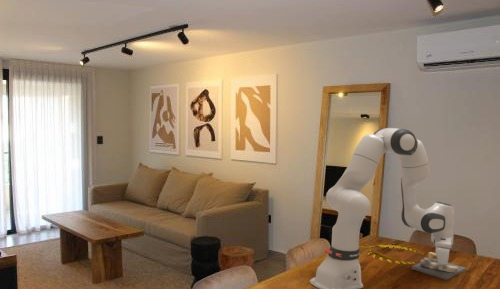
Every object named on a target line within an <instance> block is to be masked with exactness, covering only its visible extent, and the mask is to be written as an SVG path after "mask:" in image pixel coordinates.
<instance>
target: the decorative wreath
mask: <svg viewBox="0 0 500 289" xmlns="http://www.w3.org/2000/svg"><path fill="white" fill-rule="evenodd" d="M392 244H393V245H392ZM395 244H396V243H395V242H393V243H390V244H387V242H384V243H383V244H380V243H379V244H378V245H371V246H370V245H368V244H366V243H364V245H365V246H362V248H363V249H365V248H369V250H368V251H367V256H369V255H370V254H372V256H371V258H373V259H376V257H379V261H381V262H383V261H384V259H385V260H387V262H388V263H389V264H392V263H393V261H394V262H395V263H396V264H399V265H400V264H404V265H407V264H409V265H416V264H417V262H415V261H410V260H408V261H406V260H402V259H397V258H393V257H390V256H387V255H385V254H384V253H382V252H378V251H375V250H371V248H375V247H380V248H386V247H389V248H388V249H400V248H401V249H400V250H403V249H404V250H406V251H408V250H409V251H413V252H414V253H416V252H417V254H420V255H421V254H422V255H423V256H424V255H425V254H426V253H425V252H424V251H421V249H417V248H416V247H412V245H411V246H410V245H409V246H408V245H407V246H404V244H398V245H395ZM393 247H394V248H393ZM411 247H412V248H411Z"/></svg>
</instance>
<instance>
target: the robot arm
mask: <svg viewBox="0 0 500 289" xmlns="http://www.w3.org/2000/svg"><path fill="white" fill-rule="evenodd" d="M385 153H386V154H387V153H388V154H390V155H398V156H399V160H400V164H401V170H402V173H401V174H402V176H401V178H400V186H401V188H400V191H401V202H402V209H401V221H402V222H403V224H404V225H405V226H406V227H409V228H410V229H411V228H412V229H416V230H418V231H420V232H424V233H426V234H431V236H430V241H431V243H433V246H434V247H435V253H436V256H437V257H436V256H435V257H436V259H437V262H438V269H439V270H443V265H444V266H447V263H449V259H450V258H449V256H450V251H451V250H450V249H452V246H453V245H454V234H455V233H454V226H455V209H454V206H453V205H451V204H449V203H446V202H442V201H435V202H434V203H433V205H432V206H430V207H428V208H422V207H420V206H419V204H418V202H417V201H418V200H417V187H418V185H421V184H424V183H425V182H427V181H428V179H429V178H430V176H431V169H430V163H429V158H428V154H427V150H426V148H425V146H424V144H423V142H422V141H421V140H419V139H417V137H416V135H415V134H414V133H413V132H412V131H411V130H409V129H406V128H398V127H397V128H396V127H383V128H379V129H377V130H376V131H374V132H373V133H368V134H365V135H363V136H362V137H361V139H360V141H359V142H358V144H357V146H356V148H355V149H354V151H353V154H352V156H351V158H350V160H349V163H348V165H347V167H346V168H345V170H344V172H343V173H342V176H341V177H340V178H339V179H338V180H337V182H336V183H335V185H333V186H332V187H331V188H329V189H328V191H327V192H326V193H325V194H326V195H325V200H326V203H327V204H328V205H329V206H330V208H331V209H332V210H334V211H336V212H337V214H338V216H337V219H336V222H335V224H334V225H333V226H332V229H331V232H332V233H331V245H330V247H329V248H324V253H325V254H327V257H326V258H325V259H324V260H323V261H322V262H321V264H320V265H319V266H318V267H317V268H316V274H315V276H314V277H312V278H310V280H309V283H310V284H311V285H312V286H313V287H314V288H315V287H316V288H317V289H362V288H364V283H362V271H361V268H362V267H361V264H360V260H359V258H360V254H361V252H360V245H359V244H360V231H361V227H362V225H363V221H364V219H365V217H366V216H367V215H369V213H370V211H371V201H370V200H369V198H368V197H367V196H365V194H363V193H362V192H361V191H362V190H363V188H364V187H365V186H366V185H368V184H370V182H371V181H372V180H373V178H374V176H375V173H376V171H377V168H378V167H379V164H380V162H381V158H382V156H383V155H384V154H385Z"/></svg>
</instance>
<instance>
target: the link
mask: <svg viewBox="0 0 500 289" xmlns="http://www.w3.org/2000/svg"><path fill="white" fill-rule="evenodd" d="M419 263H420V266H422V267H424V268H431V269H436V270H439V269H438V263H435V262H431V261H429V260H428V261H424V258H423V259H420V262H419ZM442 271H447V272H452V273H458V267H456V266H451V265H447V266H444V265H443V270H442Z"/></svg>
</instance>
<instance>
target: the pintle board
mask: <svg viewBox="0 0 500 289" xmlns="http://www.w3.org/2000/svg"><path fill="white" fill-rule="evenodd" d="M427 255H428V256H427V257H424V258H423V259H424V261H428V260H429V261H431V262H435V263H438V262H437V256H436V252H432V251H429V252H428V253H427ZM434 257H436V258H434ZM420 263H421V262H419V263H416V264H413V265H412V266H411V268H410V269H411V270H414V271H417V272H421V273H424V274H426V275H429V276H433V277H436V278H440V279H442V280H444V281H447V280H449V279H451V278H453V277H455V276H457V275H460V274H462V273H464V272H466V271H467V267H465V266H461V265H457V264H454V263H450V262H448V263H447V265H451V266H456V267H458V273H452V272H447V271H442V270H436V269H431V268H424V267H422V266H420Z"/></svg>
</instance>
